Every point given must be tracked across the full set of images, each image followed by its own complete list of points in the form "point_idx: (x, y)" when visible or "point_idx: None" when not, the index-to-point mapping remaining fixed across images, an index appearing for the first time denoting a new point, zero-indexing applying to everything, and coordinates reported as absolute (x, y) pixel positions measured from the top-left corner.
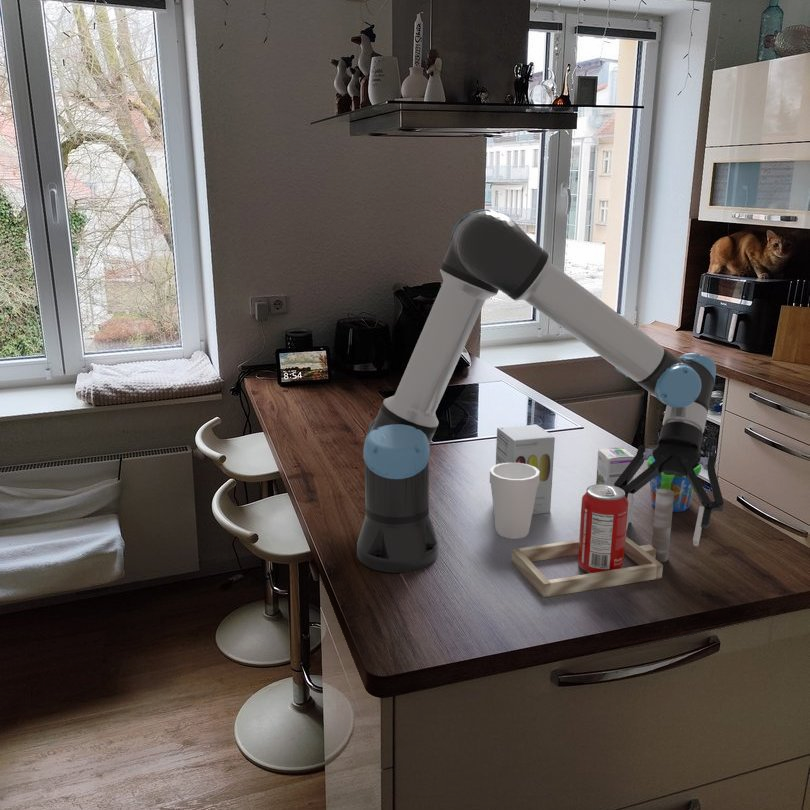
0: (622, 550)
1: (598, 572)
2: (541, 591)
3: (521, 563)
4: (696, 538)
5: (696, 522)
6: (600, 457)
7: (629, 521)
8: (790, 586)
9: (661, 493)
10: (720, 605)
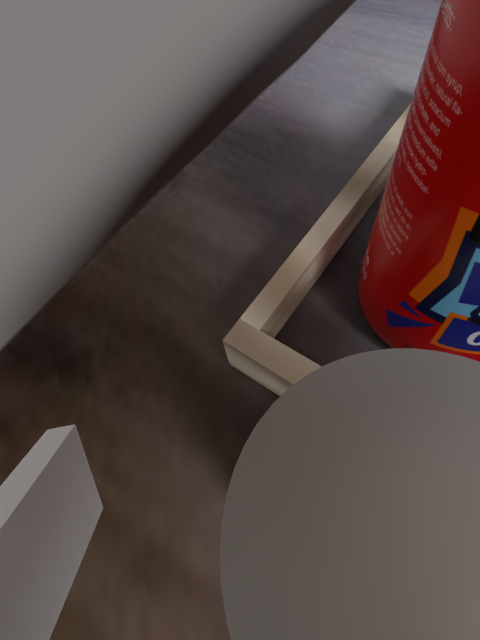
0: (375, 235)
1: (376, 172)
2: None
3: None
4: (48, 436)
5: (5, 522)
6: None
7: None
8: None
9: (441, 391)
10: (29, 331)
